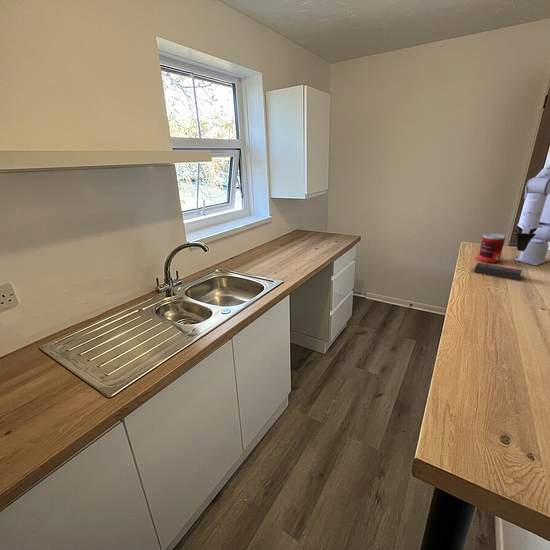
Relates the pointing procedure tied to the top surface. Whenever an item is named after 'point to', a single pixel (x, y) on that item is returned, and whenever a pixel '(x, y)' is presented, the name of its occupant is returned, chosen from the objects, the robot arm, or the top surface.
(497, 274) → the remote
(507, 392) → the top surface
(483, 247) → the canned food
